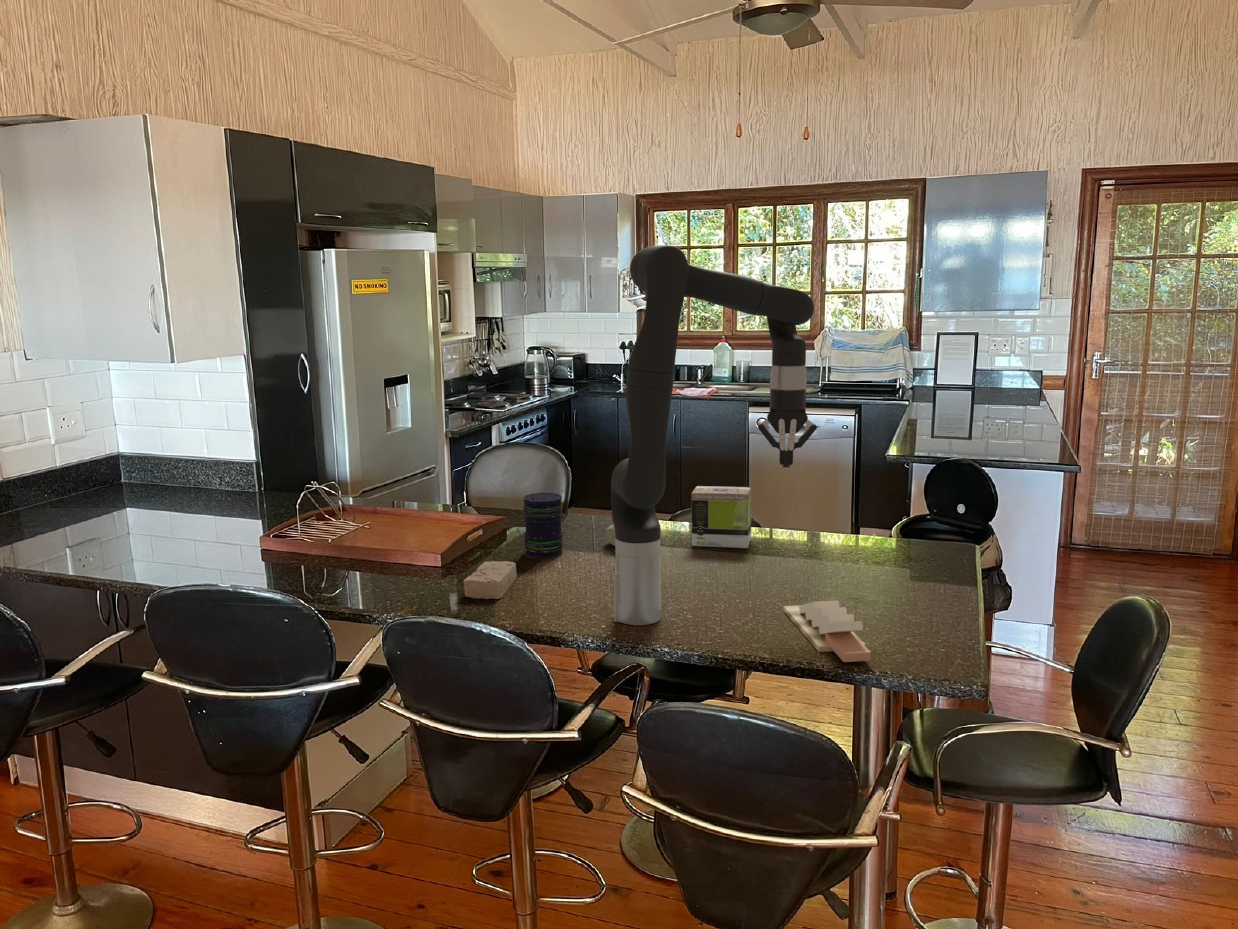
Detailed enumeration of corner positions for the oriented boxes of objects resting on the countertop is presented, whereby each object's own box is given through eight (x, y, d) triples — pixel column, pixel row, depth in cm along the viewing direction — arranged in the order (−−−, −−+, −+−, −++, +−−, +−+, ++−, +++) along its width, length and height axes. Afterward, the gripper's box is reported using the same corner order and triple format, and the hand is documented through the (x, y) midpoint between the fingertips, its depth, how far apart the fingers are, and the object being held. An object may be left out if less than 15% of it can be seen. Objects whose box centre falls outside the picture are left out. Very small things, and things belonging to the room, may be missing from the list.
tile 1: (799, 605, 192) (814, 601, 183) (822, 604, 193) (838, 600, 183) (799, 613, 192) (814, 609, 182) (823, 612, 192) (839, 608, 183)
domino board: (783, 610, 197) (783, 606, 197) (824, 608, 198) (824, 604, 198) (819, 652, 174) (819, 647, 174) (865, 649, 175) (865, 644, 175)
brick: (483, 577, 222) (483, 558, 221) (518, 578, 221) (517, 559, 220) (463, 600, 206) (462, 580, 205) (500, 602, 205) (499, 581, 204)
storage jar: (551, 546, 248) (550, 491, 245) (570, 554, 240) (569, 497, 237) (518, 552, 242) (516, 496, 240) (536, 561, 234) (534, 503, 231)
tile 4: (818, 626, 180) (835, 622, 171) (843, 624, 181) (861, 621, 171) (819, 634, 180) (836, 631, 170) (844, 633, 181) (862, 629, 171)
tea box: (751, 539, 252) (752, 486, 250) (747, 549, 243) (748, 494, 240) (696, 537, 256) (696, 484, 253) (690, 546, 246) (690, 491, 243)
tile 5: (825, 633, 177) (844, 653, 167) (850, 632, 177) (871, 652, 167) (825, 641, 177) (843, 662, 167) (850, 640, 177) (870, 660, 168)
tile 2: (805, 612, 188) (820, 608, 179) (829, 611, 189) (846, 607, 179) (806, 620, 188) (821, 616, 178) (830, 619, 188) (847, 615, 179)
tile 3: (811, 619, 184) (827, 615, 175) (835, 618, 185) (853, 613, 175) (812, 627, 184) (828, 623, 174) (836, 626, 185) (854, 622, 175)
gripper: (756, 388, 195) (755, 469, 198) (821, 388, 193) (818, 470, 196) (756, 384, 202) (755, 463, 205) (818, 384, 200) (816, 464, 204)
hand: (786, 466), depth 201 cm, fingers closed
